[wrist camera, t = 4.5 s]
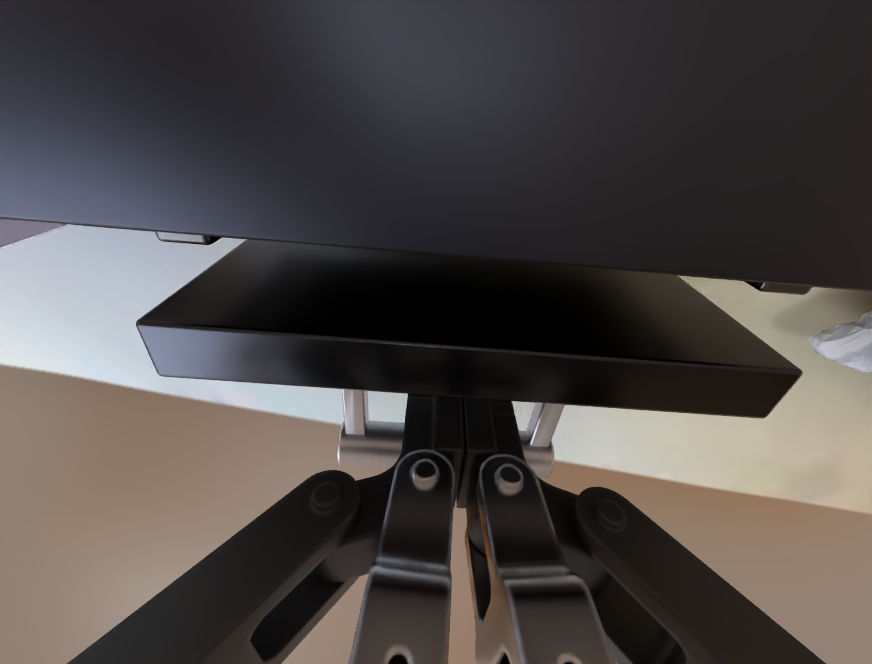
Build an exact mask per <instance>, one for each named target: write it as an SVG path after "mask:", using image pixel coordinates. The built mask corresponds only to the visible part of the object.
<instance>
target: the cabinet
mask: <svg viewBox="0 0 872 664" xmlns="http://www.w3.org/2000/svg"><path fill="white" fill-rule="evenodd" d="M0 219H11V220H23V221H35V222H46V223H58V224H70V225H82V226H94V227H106V228H118V229H130V230H142V231H154V232H166V233H178V234H190V235H202V236H214V237H225V238H237V239H249V240H261V241H273V242H285V243H297V244H309V245H321V246H333V247H345V248H357V249H369V250H381V251H393V252H404V253H416V254H428V255H440V256H452V257H464V258H476V259H488V260H500V261H512V262H524V263H536V264H548V265H560V266H572V267H583V268H595V269H607V270H619V271H631V272H643V273H655V274H667V275H679V276H691V277H703V278H715V279H727V280H739V281H751V282H762V283H774V284H786V285H798V286H810V287H822V288H834V289H846V290H858V291H870V292H872V0H0Z"/></svg>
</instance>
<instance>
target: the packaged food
mask: <svg viewBox="0 0 872 664" xmlns="http://www.w3.org/2000/svg"><path fill="white" fill-rule="evenodd" d="M809 342H810V345H811V346H812V348H813V349H814V350H815V352H816V353H818V354H819V355H821V356H822V357H823V358H825V359H828V360H832V361H835V362H838V363H840V364H843V365H846V366H848V367H851V368H854V369H857V370H860V371H863V372H872V311H870V312H867V313H863V314H861V317H860V318H859V319H858V320H857V321H855V322H852V323H846V324H837V325H836V326H835V327H834V328H833V329H832V330H825V331H822V332H821V333H820V334H819V335H815V336H812V337H810V338H809Z"/></svg>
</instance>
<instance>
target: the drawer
mask: <svg viewBox="0 0 872 664" xmlns="http://www.w3.org/2000/svg"><path fill="white" fill-rule="evenodd" d="M155 233H156V235H157V237H158V238H159V240H161V241H165V242H177V243H189V244H202V245H210V244H212V243H214V242H216V241H217V240H219V239H220V238H222V237H214V236H202V235H190V234H178V233H166V232H155ZM744 282H746V283H748V284H749V285H751V286H753V287H754V288H756V289H757V290H759V291H763V292H775V293H788V294H800V295H804V294H807V293H808V292H809V291H810V290H811V288H812V287H810V286H798V285H786V284H774V283H762V282H751V281H744ZM136 326H137V329H138V331H139V333H140V335H141V337H142V340H143V342H144V344H145V346H146V349H147V351H148V353H149V355H150V357H151V360H152V362H153V364H154V366H155V369H156V371H157V373H158V374H159V375H160V376H165V377H179V378H193V379H208V380H222V381H236V382H250V383H265V384H279V385H293V386H307V387H322V388H336V389H342V396H343V408H344V420H345V421H344V422H343V424H342V427H341V430H340V434H339V439H338V447H337V459H338V464H339V465H341V466H349V467H350V466H351V467H365V468H380V469H390V468H391V467H392V466H393V465H394V464H395V463H396V461H397V460H398V458H399V456H400V454H401V450H402V442H403V433H404V425H405V423H396V422H381V421H369V420H368V391H379V392H393V393H407V394H421V395H436V396H450V397H464V398H478V399H493V400H507V401H521V402H535V406H534V409H533V412H532V415H531V418H530V422H529V425H528V428H527V431H519V435H520V440H521V444H522V449H523V453H524V457H525V460H526V462H527V464H528V465H529V466H530V467H531V468H532V469H533V470H534V472H535V474H536V475H537V476H538V477H539V478H540V479H547V478H549V477H550V476H551V474H552V471H553V466H554V449H553V444H552V441H551V439H552V436H553V433H554V431H555V428H556V426H557V423H558V421H559V418H560V415H561V413H562V410H563V408H564V405H578V406H592V407H607V408H621V409H635V410H649V411H664V412H678V413H692V414H707V415H721V416H735V417H749V418H765V417H767V416H768V415H769V414H770V412H771V411H772V410H773V409H774V408H775V407H776V405H777V404H778V403H779V402H780V401H781V399H782V398H783V397H784V396H785V395H786V394H787V392H788V391H789V390H790V389H791V388H792V386H793V385H794V384H795V383H796V382H797V380H798V379H799V378H800V377H801V376H802V373H803V372H802V371H801V370H800V369H799V368H798V367H796V366H795V365H794V364H792V363H791V362H790V361H789V360H787V359H786V358H785V357H783V356H782V355H781V354H779V353H778V352H777V351H775V350H774V349H773V348H771V347H770V346H769V345H768V344H766V343H765V342H764V341H762V340H761V339H760V338H758V337H757V336H756V335H754V334H753V333H752V332H750V331H749V330H748V329H747V328H745V327H744V326H743V325H741V324H740V323H739V322H737V321H736V320H735V319H733V318H732V317H731V316H729V315H728V314H727V313H726V312H724V311H723V310H722V309H720V308H719V307H718V306H716V305H715V304H714V303H712V302H711V301H710V300H708V299H707V298H706V297H705V296H703V295H702V294H701V293H699V292H698V291H697V290H695V289H694V288H693V287H691V286H690V285H689V284H687V283H686V282H685V281H684V280H682V279H681V278H680V277H678V276H677V275H667V274H655V273H643V272H631V271H619V270H607V269H595V268H583V267H572V266H560V265H548V264H536V263H524V262H512V261H500V260H488V259H476V258H464V257H452V256H440V255H428V254H416V253H404V252H393V251H381V250H369V249H357V248H345V247H333V246H321V245H309V244H297V243H285V242H273V241H261V240H249V239H247V240H246V241H244V242H243V243H241V244H240V245H239V246H237V247H236V248H235V249H233V250H232V251H231V252H229V253H228V254H227V255H225V256H224V257H222V258H221V259H220V260H218V261H217V262H216V263H214V264H213V265H212V266H210V267H209V268H208V269H206V270H205V271H203V272H202V273H201V274H199V275H198V276H197V277H195V278H194V279H193V280H191V281H190V282H189V283H187V284H186V285H184V286H183V287H182V288H180V289H179V290H178V291H176V292H175V293H174V294H172V295H171V296H170V297H168V298H167V299H165V300H164V301H163V302H161V303H160V304H159V305H157V306H156V307H155V308H153V309H152V310H151V311H149V312H148V313H146V314H145V315H144V316H142V317H141V318H140V319H138V320H137V322H136Z"/></svg>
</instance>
